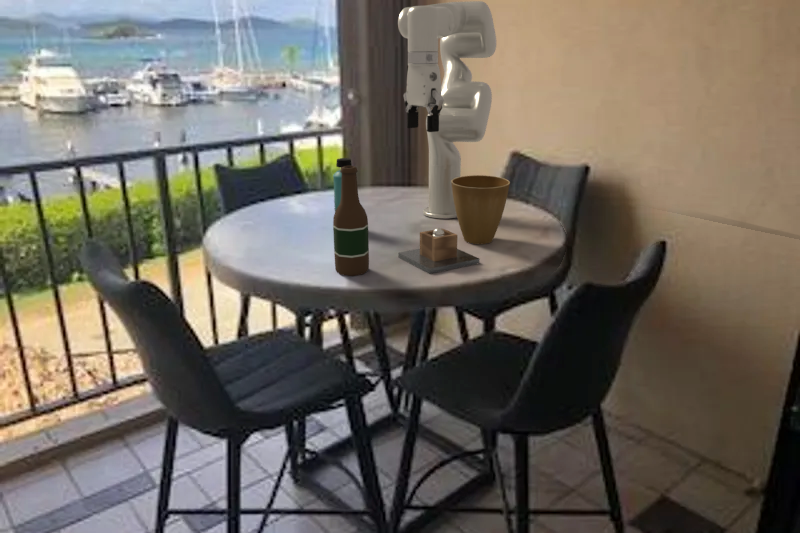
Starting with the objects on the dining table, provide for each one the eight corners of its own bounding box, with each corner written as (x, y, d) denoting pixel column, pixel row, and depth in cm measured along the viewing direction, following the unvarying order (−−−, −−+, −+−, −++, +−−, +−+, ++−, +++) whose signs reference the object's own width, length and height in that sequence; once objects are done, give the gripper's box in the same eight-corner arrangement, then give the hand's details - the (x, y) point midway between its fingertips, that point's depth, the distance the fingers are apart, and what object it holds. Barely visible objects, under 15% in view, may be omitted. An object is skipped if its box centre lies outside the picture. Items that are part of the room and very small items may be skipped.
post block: (445, 248, 160) (446, 217, 157) (479, 263, 148) (480, 230, 146) (398, 257, 153) (398, 225, 150) (429, 273, 142) (429, 240, 139)
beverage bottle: (354, 233, 173) (352, 160, 166) (331, 232, 174) (328, 160, 168) (361, 227, 179) (359, 156, 172) (338, 225, 180) (335, 156, 174)
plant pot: (440, 236, 169) (441, 178, 164) (488, 230, 175) (490, 173, 170) (467, 252, 156) (469, 189, 151) (517, 244, 162) (521, 183, 157)
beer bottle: (335, 265, 147) (331, 163, 139) (368, 264, 148) (366, 163, 140) (334, 277, 140) (330, 170, 132) (369, 276, 141) (367, 169, 133)
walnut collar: (441, 249, 154) (442, 228, 153) (456, 256, 149) (457, 234, 147) (419, 254, 151) (419, 232, 149) (434, 261, 146) (434, 238, 144)
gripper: (455, 59, 150) (453, 132, 156) (417, 59, 165) (417, 125, 170) (429, 60, 147) (428, 134, 153) (392, 59, 161) (393, 127, 167)
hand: (422, 129), depth 161 cm, fingers open, 9 cm apart
